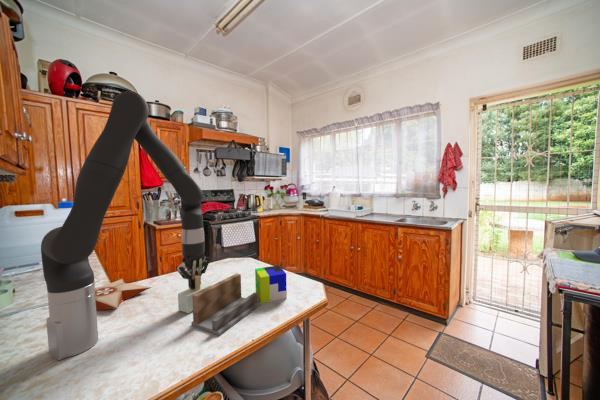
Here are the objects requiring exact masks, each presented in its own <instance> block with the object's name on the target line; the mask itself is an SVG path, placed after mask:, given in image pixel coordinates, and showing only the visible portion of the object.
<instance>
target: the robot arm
mask: <svg viewBox="0 0 600 400" xmlns="http://www.w3.org/2000/svg"><path fill="white" fill-rule="evenodd" d="M149 115H150V108H149V105H148V103H147V101H146V100H145V98H144V97H143V96H142V95H141V94H139V93H137V92H133V91H123V92H120V93H118V94H117V95H115V97H113V100H112V103H111V108H110V111H109V115H108V117H107V120H106V123H105V126H104V128H103V130H102V131H101V133H100V135H99V136H98V137H97V139H96V140H95V143H93V146H92V147H91V149H90V151H89V153H88V154H87V156H86V158H85V160H84V163H83V164H82V166H81V168H80V170H79V173H78V175H77V179H76V183H75V188H74V189H75V191H74V196H73V197H74V198H73V201H72V205H71V209H70V212H69V214H68V215H67V217H66V219H65V221H64V222H63V224H62V226H58V227H56V228H52V229H51V230H49V231H48V232H47V233H46V234H45V235H44V236H43V238H42V240H41V244H40V254H41V264H42V272H43V278H44V282H45V284H46V291H47V293H46V294H47V302H48V303H47V304H48V315H49V317H48V318H46V331H47V333H46V334H47V345H48V347H47V348H48V354H49V355H50V356H52V357H53V358H55V359H56V360H57V361H61V360H64V359H65V358H69V357H73V356H77V355H79V354H81V353H83V352H86V351H88V350H89V349H91V348H92V347H93V346H95V345H96V344H97V342H98V341H99V330H98V329H99V327H98V319H97V318H98V317H97V315H98V314H97V312H98V311H97V310H96V298H95V288H96V286H95V284H96V283H95V273H94V270H93V269H92V266H91V265H90V261H89V257H90V256H91V255H92V254H93V252H94V251H95V248H96V245H97V242H98V239H99V236H100V233H101V229H102V226H103V222H104V219H105V216H106V214H107V211H108V209H109V208H110V205H111V203H112V202H113V199H114V196H115V194H116V192H117V190H118V187H119V185H120V184H121V182H122V180H123V178H124V177H123V176H124V174H125V172H126V170H127V165H128V162H129V159H130V157H131V156H130V155H131V151H132V148H133V143H134V141H135V142H136V143H138V145H140V147H141V149H143V150H144V152H145V153H146V154H147V155H148V156H149V158H150V159H151V161H152V162H153V163H154V165H155V166H156V167H157V168H158V170H159V171H160V172H161V174H162V175H163V176H164V178H165V179H166V180H167V182H168V183H169V184H170V185H171V186H172V187H173V188H174V191H175V192H176V193H177V195H178V196H179V197H180V205H181V235H180V236H181V237H180V238H181V254H182V257H183V258H182V261H181V262H182V263H181V264H179V265H176V266H175V270H176V271H177V273H179V275H180V277H182V278H183V279H184V280H188V281H187V282H188V283H187V284H188V289H189V288H190V289H195V279H194V278H195V275H198V276H200V284H201V283H202V279H201V277H202V275H203V274H206V272H207V269H208V267H209V263H210V261H211V257H210V256H209V257H208V256H205V251H206V246H205V245H206V244H205V230H204V229H205V228H204V215H203V212H202V201H203V197H204V193H203V190H202V188H201V187H200V186H199V185H198V184H197V182H196V181H195V179H194V178H193V177H192V176H191V175H190V174H189V172H188V171H187V169H186V167H185V166H184V164H183V163H182V161H181V160H180V159H179V158H178V157H177V155H176V154H175V153H174V152H173V151H172V150H171V148H169V147H168V146H167V144H166V143H164V142H163V141H162V140H161V139H160V138H159V136H157V135H156V133H155V131H154V130H153V128H152V127H151V125H150V123H149V121H148V117H149Z"/></svg>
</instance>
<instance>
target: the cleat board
mask: <svg viewBox="0 0 600 400" xmlns="http://www.w3.org/2000/svg"><path fill="white" fill-rule="evenodd" d="M192 300H193V311H192V319H193V321H191V326H193V327H195V328H197V329H201V330H202V331H203V330H204V331H207V332H209V333H211V334H214V335H216V336H220V337H221V335H224V333H225V332H227V331H228V330H230V329H231V328H232V327H233V326H235V325H236V324H237V323H239V322H240V321H242V319H244V318H245V317H247V316H248V315H250V314H251V313H252V312H253V311H254V310H256V309H257V308H259V307H260V306H261V304H262V303H261V302H260V301H259V298H258V294H257V293H256V292H253V293H251V294H250V295H249V296H247V297H242V273H234V274H233V275H231V276H229V277H227V278H225V279H222V280H221V281H218V282H216V283H214V284H212V285H211V286H210V287H208V288H206V289H204V290H202V291H200V292H197V293H195V294H193V295H192Z"/></svg>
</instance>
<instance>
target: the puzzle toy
mask: <svg viewBox="0 0 600 400" xmlns="http://www.w3.org/2000/svg"><path fill="white" fill-rule="evenodd" d="M254 272H255V275H254V276H255V277H254V278H255V293H257V294H258V301H259V302H261V304H266V303H271V302H277V301H283V300H286V299H287V291H288V290H287V273H286V272H285V271H284V269H283V268H282V267H281V265H279V264H278V265H271V266H266V267H258V268H255V269H254Z"/></svg>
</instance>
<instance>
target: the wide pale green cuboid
mask: <svg viewBox="0 0 600 400" xmlns="http://www.w3.org/2000/svg"><path fill="white" fill-rule="evenodd" d="M194 279H195V289H190V288H189V287H188V289H185V290H182V291H180V292H178V293H177V304H178V308H177V309H178V311H180V312H183V313H186V314H190V313H193V300H192V295H193V294H195V293H197V292H200V291H202V290H204V289H206V288H208V287H210V286H212V285H210V284H207V283H203V282H201V284H200V276H198V275H195V278H194Z"/></svg>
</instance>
